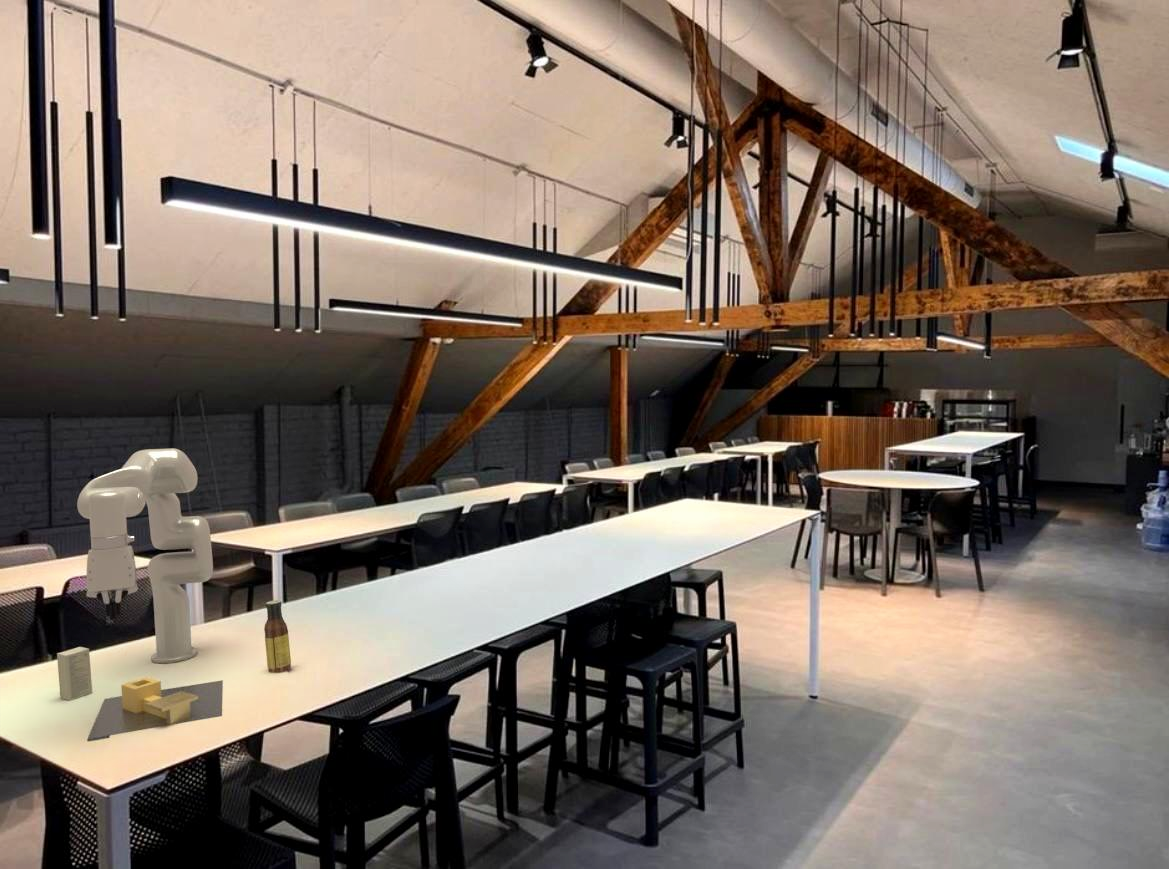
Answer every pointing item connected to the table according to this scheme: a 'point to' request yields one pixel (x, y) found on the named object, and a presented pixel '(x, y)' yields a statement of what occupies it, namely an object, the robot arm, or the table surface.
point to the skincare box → (74, 673)
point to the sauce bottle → (276, 639)
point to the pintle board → (147, 720)
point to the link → (141, 695)
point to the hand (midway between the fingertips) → (114, 618)
